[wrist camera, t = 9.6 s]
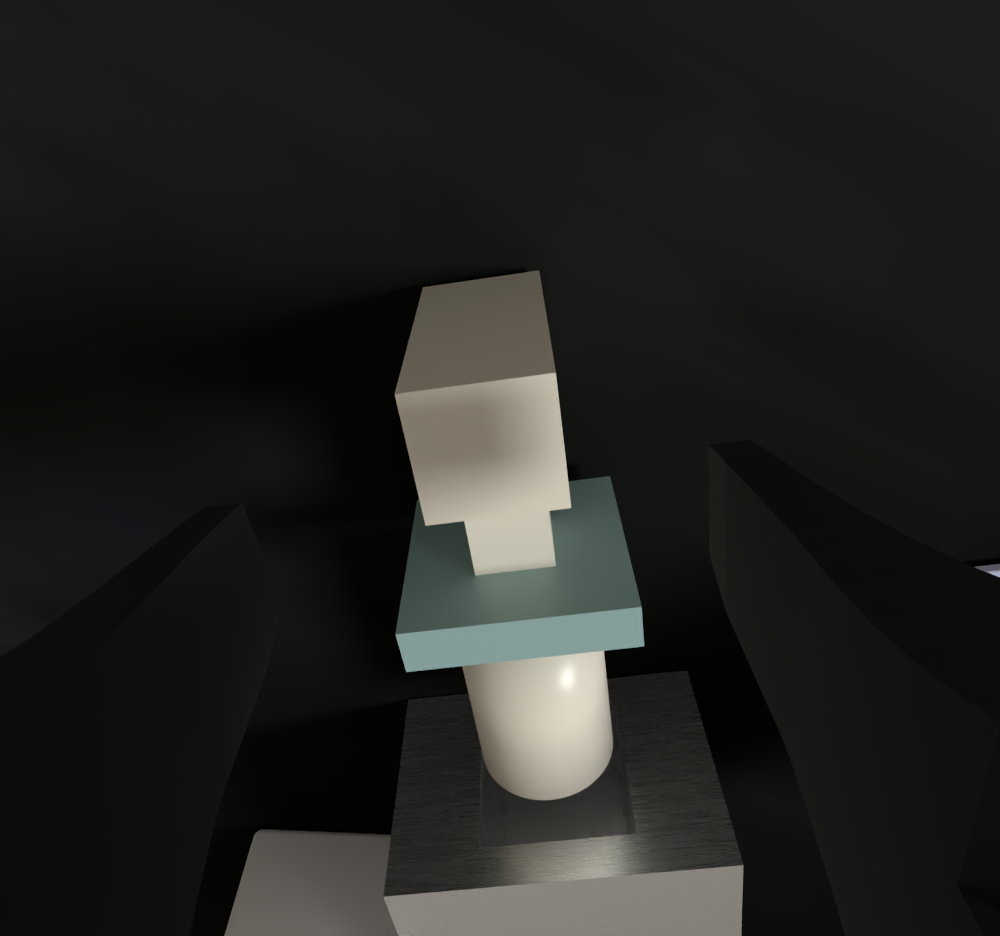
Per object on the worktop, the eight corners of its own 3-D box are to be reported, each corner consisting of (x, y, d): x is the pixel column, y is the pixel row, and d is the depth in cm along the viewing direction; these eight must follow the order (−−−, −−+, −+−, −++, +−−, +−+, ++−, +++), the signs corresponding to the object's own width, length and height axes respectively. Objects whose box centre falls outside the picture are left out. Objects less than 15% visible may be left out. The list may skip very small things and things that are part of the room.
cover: (590, 262, 19) (626, 362, 14) (623, 652, 26) (656, 822, 21) (373, 294, 20) (326, 403, 14) (461, 670, 27) (451, 841, 21)
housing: (687, 670, 27) (743, 865, 21) (691, 827, 32) (738, 1025, 26) (408, 699, 28) (383, 896, 22) (451, 849, 32) (441, 1047, 26)
